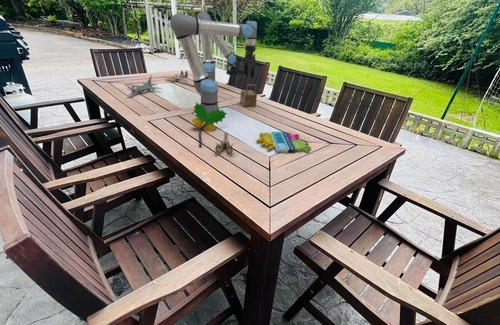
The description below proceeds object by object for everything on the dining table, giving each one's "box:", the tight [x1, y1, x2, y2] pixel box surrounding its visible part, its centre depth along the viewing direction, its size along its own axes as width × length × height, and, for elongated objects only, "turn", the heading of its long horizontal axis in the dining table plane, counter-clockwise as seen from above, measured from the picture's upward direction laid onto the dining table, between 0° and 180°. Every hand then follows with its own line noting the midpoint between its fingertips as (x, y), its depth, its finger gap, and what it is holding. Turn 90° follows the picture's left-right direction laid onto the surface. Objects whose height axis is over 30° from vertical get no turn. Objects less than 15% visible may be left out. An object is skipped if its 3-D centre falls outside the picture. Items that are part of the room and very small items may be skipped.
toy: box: [163, 70, 189, 83], centre depth 276 cm, size 28×7×30 cm
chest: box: [239, 92, 258, 108], centre depth 212 cm, size 13×9×9 cm
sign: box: [256, 131, 312, 154], centre depth 152 cm, size 26×2×30 cm
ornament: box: [191, 102, 228, 132], centre depth 162 cm, size 21×8×15 cm, turn 105°
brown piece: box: [240, 83, 258, 97], centre depth 208 cm, size 14×9×9 cm
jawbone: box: [214, 131, 234, 156], centre depth 136 cm, size 9×15×10 cm
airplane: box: [127, 75, 162, 98], centre depth 225 cm, size 38×32×10 cm
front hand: (248, 75), depth 199 cm, fingers open, 13 cm apart
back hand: (239, 74), depth 228 cm, fingers open, 13 cm apart
